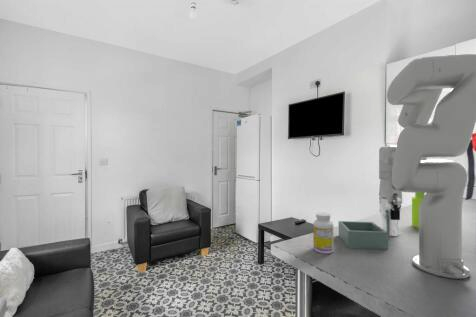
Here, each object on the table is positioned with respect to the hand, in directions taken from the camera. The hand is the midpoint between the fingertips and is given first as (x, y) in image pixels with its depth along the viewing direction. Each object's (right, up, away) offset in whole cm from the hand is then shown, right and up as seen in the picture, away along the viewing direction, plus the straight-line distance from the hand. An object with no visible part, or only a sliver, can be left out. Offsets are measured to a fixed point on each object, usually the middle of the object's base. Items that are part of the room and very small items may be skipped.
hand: (389, 216), depth 98 cm
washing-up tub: (-17, -8, -9) cm, 20 cm away
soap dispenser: (+20, -7, +9) cm, 23 cm away
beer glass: (0, -8, 0) cm, 8 cm away
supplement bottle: (-34, -8, -16) cm, 38 cm away
